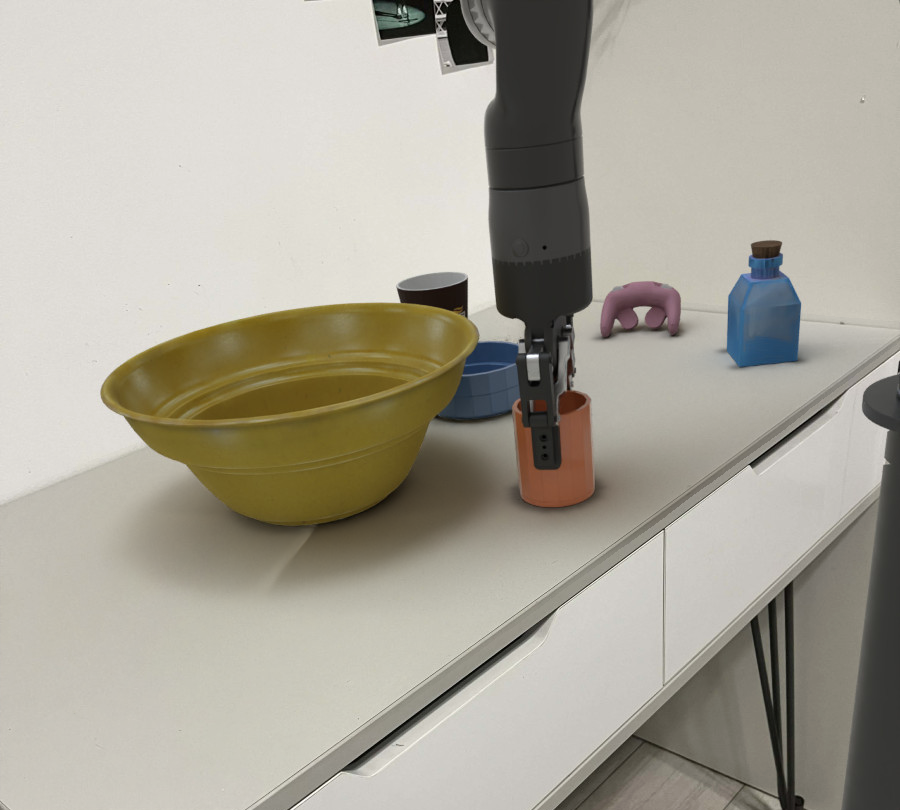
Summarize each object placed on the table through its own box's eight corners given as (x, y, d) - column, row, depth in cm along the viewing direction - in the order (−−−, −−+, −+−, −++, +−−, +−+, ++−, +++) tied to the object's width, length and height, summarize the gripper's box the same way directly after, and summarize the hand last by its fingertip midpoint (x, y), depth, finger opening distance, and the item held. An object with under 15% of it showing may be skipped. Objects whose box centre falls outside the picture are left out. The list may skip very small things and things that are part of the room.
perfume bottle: (781, 344, 109) (788, 234, 103) (797, 360, 103) (805, 245, 97) (726, 350, 109) (729, 241, 103) (739, 367, 104) (743, 253, 98)
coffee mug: (466, 348, 123) (457, 268, 118) (485, 365, 115) (476, 281, 110) (378, 365, 121) (365, 285, 116) (392, 384, 114) (379, 299, 108)
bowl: (540, 382, 108) (537, 338, 105) (522, 421, 98) (518, 373, 95) (438, 386, 111) (432, 343, 108) (411, 424, 101) (404, 378, 98)
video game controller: (681, 340, 120) (684, 282, 119) (678, 333, 115) (681, 274, 115) (603, 342, 123) (605, 286, 122) (597, 336, 118) (599, 278, 118)
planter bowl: (568, 472, 85) (559, 322, 78) (263, 626, 69) (217, 453, 62) (358, 408, 107) (336, 287, 101) (88, 512, 91) (41, 376, 84)
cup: (598, 475, 84) (594, 387, 80) (590, 507, 79) (585, 415, 75) (527, 476, 86) (519, 390, 82) (514, 507, 80) (506, 418, 76)
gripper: (578, 264, 65) (589, 487, 74) (600, 222, 77) (607, 419, 85) (472, 271, 67) (494, 488, 75) (509, 230, 79) (524, 421, 87)
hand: (554, 450), depth 80 cm, fingers closed on cup, 6 cm apart
